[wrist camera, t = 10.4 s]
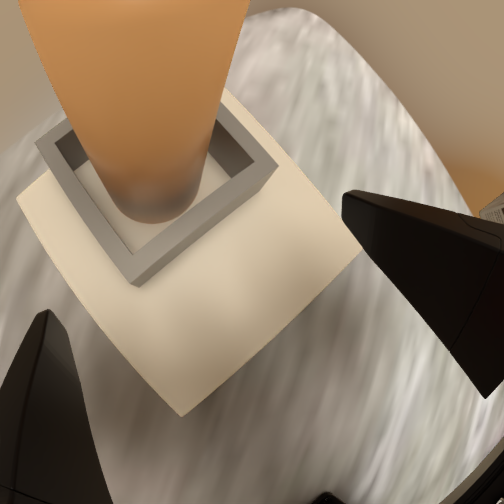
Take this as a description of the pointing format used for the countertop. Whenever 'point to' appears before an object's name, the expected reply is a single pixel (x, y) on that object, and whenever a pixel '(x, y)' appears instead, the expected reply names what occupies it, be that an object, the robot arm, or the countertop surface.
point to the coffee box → (494, 210)
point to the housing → (192, 255)
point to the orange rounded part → (140, 89)
